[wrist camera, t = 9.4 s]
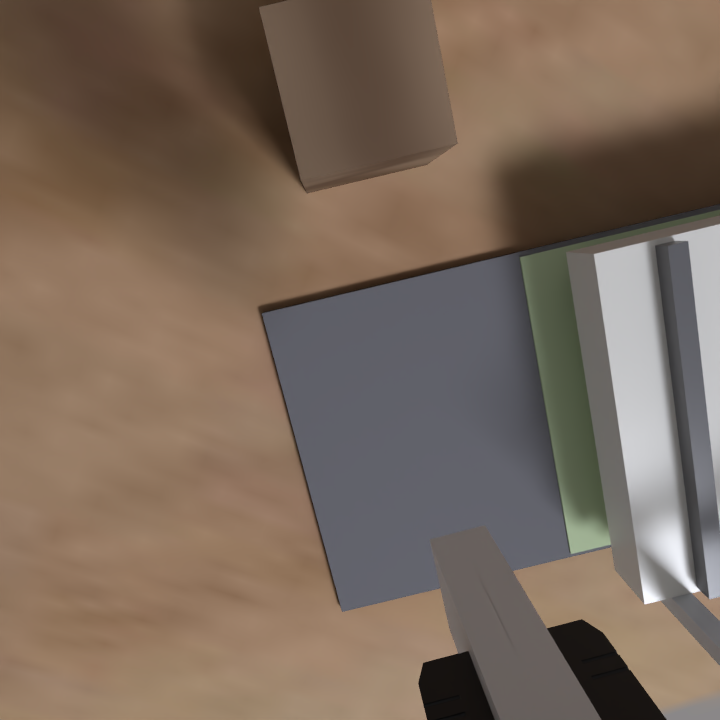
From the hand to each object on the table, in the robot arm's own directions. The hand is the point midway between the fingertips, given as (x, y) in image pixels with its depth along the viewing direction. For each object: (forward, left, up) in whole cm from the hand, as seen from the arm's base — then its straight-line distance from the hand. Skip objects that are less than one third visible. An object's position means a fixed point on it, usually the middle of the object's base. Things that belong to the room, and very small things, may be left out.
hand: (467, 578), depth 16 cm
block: (+1, +14, -11) cm, 18 cm away
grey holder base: (+8, 0, -11) cm, 14 cm away
